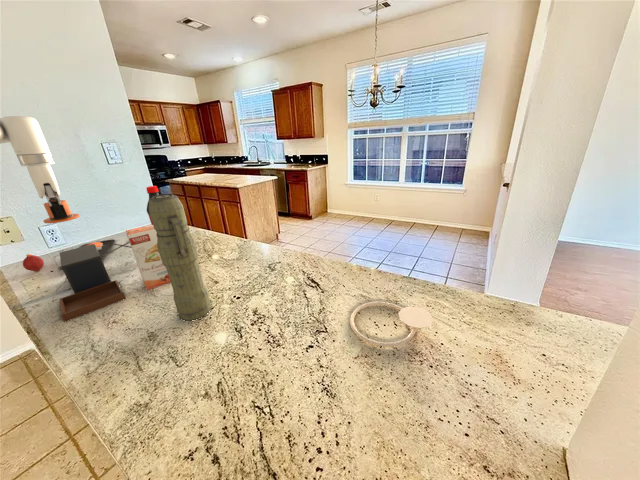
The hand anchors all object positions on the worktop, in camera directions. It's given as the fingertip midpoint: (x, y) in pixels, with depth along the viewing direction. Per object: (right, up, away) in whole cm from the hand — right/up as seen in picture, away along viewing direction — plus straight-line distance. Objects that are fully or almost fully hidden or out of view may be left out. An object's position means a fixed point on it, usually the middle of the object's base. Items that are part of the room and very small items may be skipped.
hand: (60, 215), depth 89 cm
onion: (-29, -21, +20) cm, 41 cm away
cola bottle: (+20, -14, +31) cm, 39 cm away
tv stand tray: (+14, -29, -3) cm, 32 cm away
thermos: (+50, -30, -10) cm, 60 cm away
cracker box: (+32, -23, +8) cm, 40 cm away
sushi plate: (-10, -14, +34) cm, 38 cm away
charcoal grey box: (+3, -24, +9) cm, 26 cm away
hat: (0, -1, +1) cm, 1 cm away
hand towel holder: (+105, -31, -20) cm, 112 cm away
